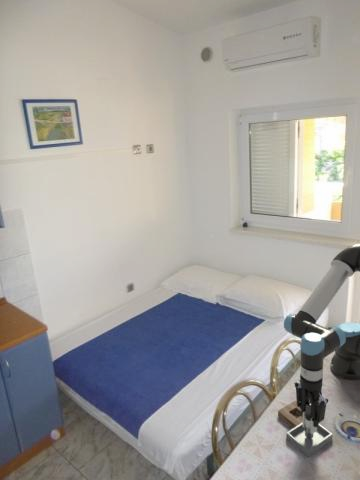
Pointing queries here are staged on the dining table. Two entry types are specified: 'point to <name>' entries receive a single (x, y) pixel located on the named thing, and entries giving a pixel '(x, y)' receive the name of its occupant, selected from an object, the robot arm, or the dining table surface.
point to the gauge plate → (291, 414)
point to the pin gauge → (308, 420)
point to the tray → (307, 444)
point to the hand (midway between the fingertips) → (309, 428)
